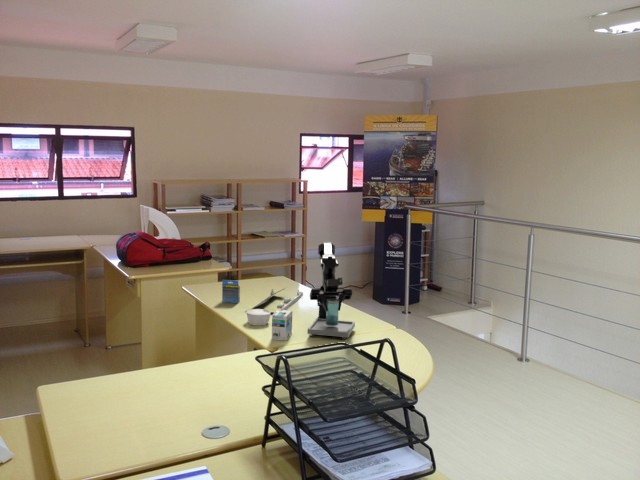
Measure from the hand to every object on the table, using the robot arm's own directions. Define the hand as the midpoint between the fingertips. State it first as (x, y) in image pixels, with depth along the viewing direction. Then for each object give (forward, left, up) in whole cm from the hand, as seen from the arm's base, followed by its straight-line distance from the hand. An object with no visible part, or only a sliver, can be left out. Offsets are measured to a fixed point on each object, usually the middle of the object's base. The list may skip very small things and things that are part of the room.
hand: (333, 310), depth 265 cm
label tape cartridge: (-63, +39, -11) cm, 75 cm away
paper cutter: (-39, +44, -12) cm, 60 cm away
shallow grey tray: (-1, +1, -11) cm, 11 cm away
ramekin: (-37, +7, -11) cm, 39 cm away
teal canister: (-1, +1, -7) cm, 7 cm away
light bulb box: (-21, -10, -11) cm, 25 cm away
